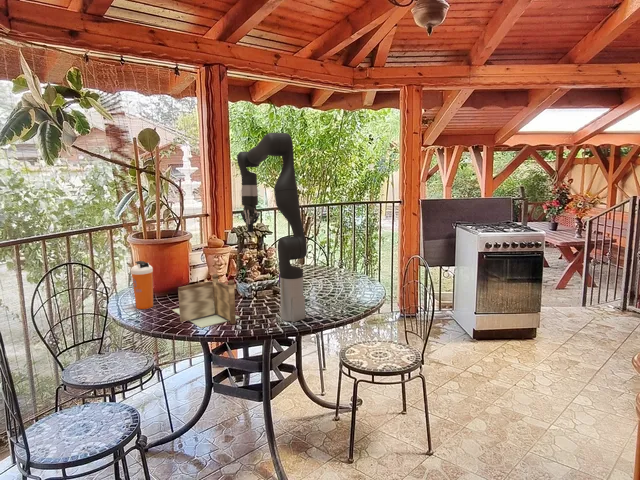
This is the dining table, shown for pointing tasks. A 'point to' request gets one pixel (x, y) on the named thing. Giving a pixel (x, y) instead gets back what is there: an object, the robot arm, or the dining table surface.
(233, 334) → the dining table surface
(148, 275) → the shaker bottle
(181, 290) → the fence panel
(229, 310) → the panel
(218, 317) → the card
